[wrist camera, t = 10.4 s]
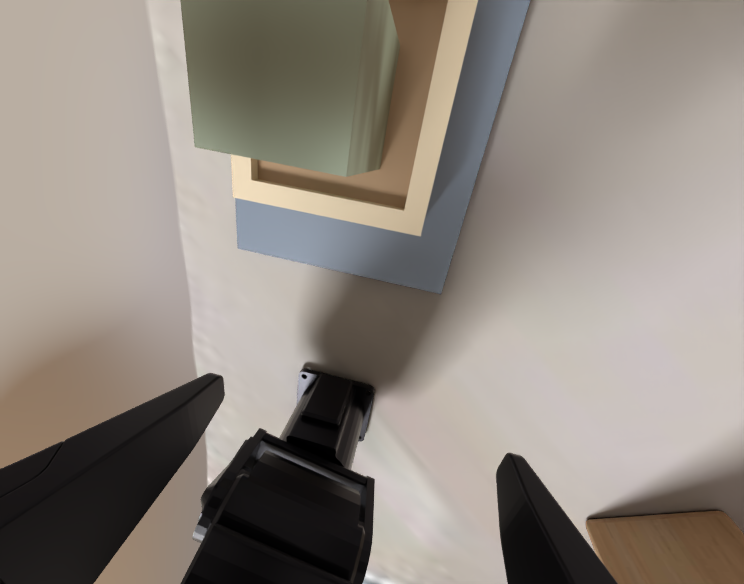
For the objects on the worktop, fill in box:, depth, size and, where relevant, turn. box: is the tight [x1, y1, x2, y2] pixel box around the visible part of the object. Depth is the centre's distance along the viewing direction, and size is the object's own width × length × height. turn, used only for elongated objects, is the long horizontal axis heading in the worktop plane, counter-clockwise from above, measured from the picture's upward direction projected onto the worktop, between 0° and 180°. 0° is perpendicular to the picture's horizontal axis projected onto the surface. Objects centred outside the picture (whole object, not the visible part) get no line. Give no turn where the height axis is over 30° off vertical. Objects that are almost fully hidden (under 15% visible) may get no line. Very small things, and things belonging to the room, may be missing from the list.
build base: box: [231, 0, 530, 294], centre depth 14 cm, size 18×14×5 cm
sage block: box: [181, 0, 400, 177], centre depth 10 cm, size 4×4×6 cm
